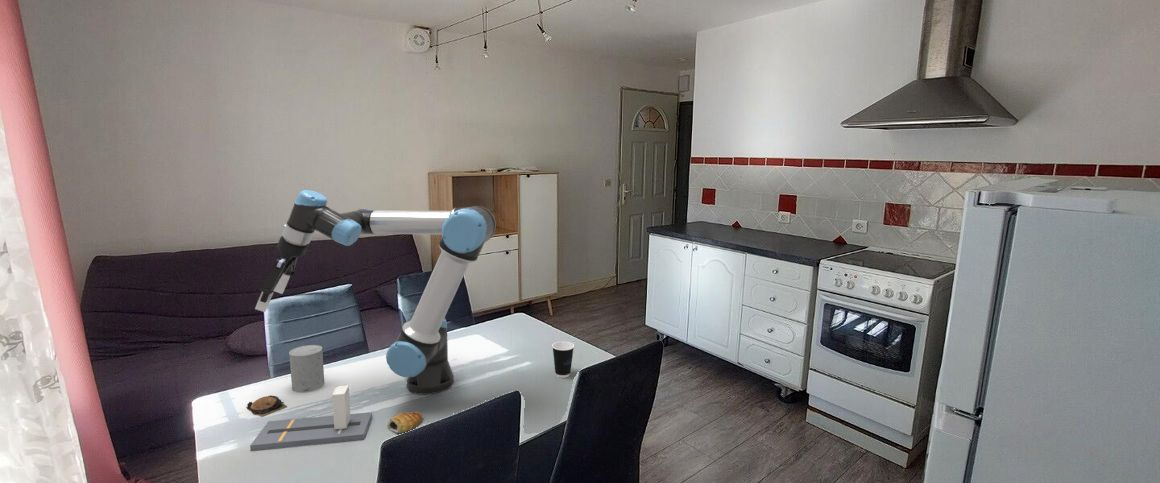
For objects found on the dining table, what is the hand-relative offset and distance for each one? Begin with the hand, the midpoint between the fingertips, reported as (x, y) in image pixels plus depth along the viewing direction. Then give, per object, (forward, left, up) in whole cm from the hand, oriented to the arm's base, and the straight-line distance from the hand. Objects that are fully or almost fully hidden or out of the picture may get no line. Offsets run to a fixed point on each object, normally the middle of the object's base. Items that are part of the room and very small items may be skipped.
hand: (269, 300), depth 149 cm
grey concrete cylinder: (-7, -6, -31) cm, 33 cm away
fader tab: (-25, +25, -29) cm, 45 cm away
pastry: (-41, +26, -32) cm, 58 cm away
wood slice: (+1, +7, -32) cm, 33 cm away
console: (-18, +25, -31) cm, 43 cm away
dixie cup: (-91, +1, -31) cm, 96 cm away
